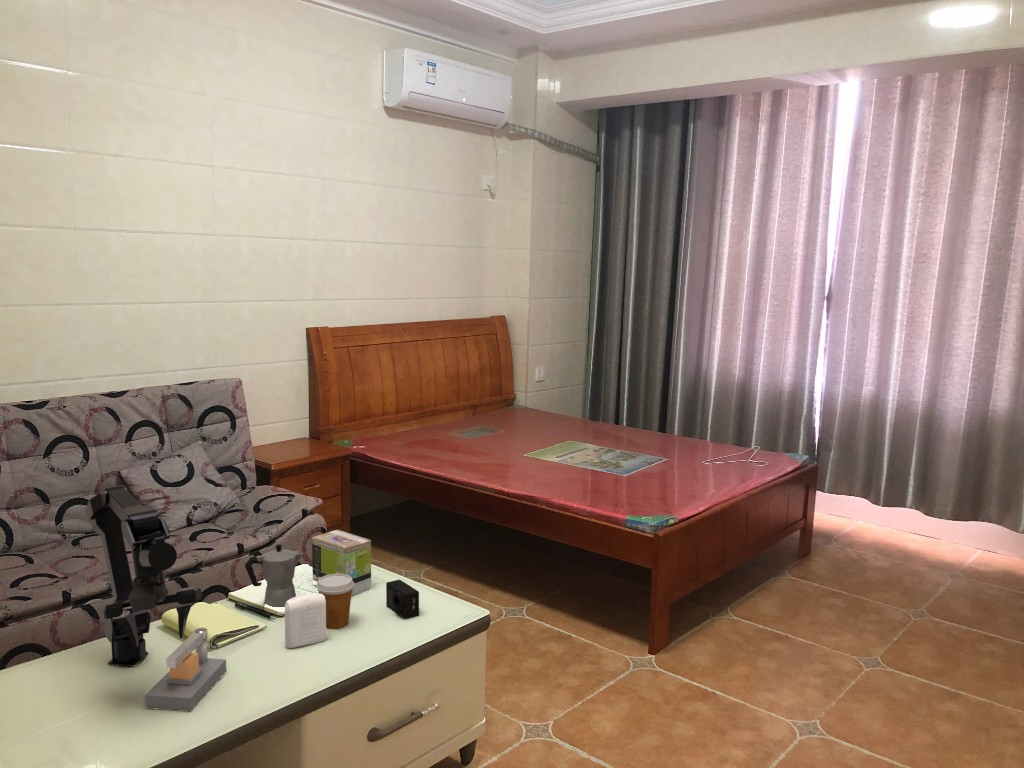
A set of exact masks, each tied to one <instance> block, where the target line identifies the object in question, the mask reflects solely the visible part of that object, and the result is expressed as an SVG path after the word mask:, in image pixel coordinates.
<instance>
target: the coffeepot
mask: <svg viewBox="0 0 1024 768" xmlns="http://www.w3.org/2000/svg"><path fill="white" fill-rule="evenodd" d="M282 546H283V545H282V544H275V549H274V550H271V551H270V550H269V551H267V552H263V554H262V555H256V556H251V557H249V558H248V560H247V561H246V562H245V564H244V568H245V570H246V572H247V574H248V577H249V579H250V581H251V584H252V585H253V587H260V586H262V582H258V581H257V576H256V574H255V572H254V571H255V570H254V568H253V566H252V565H254V564H257V565H259V564H261V565H262V569H263V570H262V571H263V575H264V580H265V582H266V587H265V592H264V593H265V594H264V599H263V601H264V602H263V604H264V603H265V604H267V605H269V606H272V607H285V602H286V601H288V600H290V599H291V598H294V597H296V596H297V594H296V590H295V584H294V581H293V580H294V578H295V570H296V567H297V565H298V563H299V561H300V560H301V559H302V557H303V556H304V554H305V553H304V552H302V551H299V550H297V551H296V550H291V549H282Z"/></svg>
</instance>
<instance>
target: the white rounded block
mask: <svg viewBox="0 0 1024 768" xmlns="http://www.w3.org/2000/svg"><path fill="white" fill-rule="evenodd" d="M326 639H327V628H326V600H325V596H324V595H323V594H320V593H319V592H310V593H304V594H299V595H296V597H294V598H291V599H290V600H288V601H286V602H285V615H284V642H285V643H284V646H285V647H286V648H288V649H294V648H299V647H303V646H307V645H311V644H316V643H320V642H323V641H326Z"/></svg>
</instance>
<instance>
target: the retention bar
mask: <svg viewBox="0 0 1024 768" xmlns="http://www.w3.org/2000/svg"><path fill="white" fill-rule="evenodd" d="M206 639H207V640H208V629H207V628H206V627H198V628H195V629H194V630H193V632H192V634H190V636H188V637H187V638H185V640H184V641H183V642H182V643H181V644H180V645H179V646H178V647H177V648H175V650H174V651H173V652H171V654H169V655H168V656H167V657H166V668H169V669H170V668H176V667H177V666H178V665H179V664H180V663H181V662H182V661H183V660H184V659H185V658H186V657H187V656H188V655H190V654H191V653H194V651H196V648H197V647H198V646H199V645H200V644H201V643H202V642H203V641H205V640H206Z"/></svg>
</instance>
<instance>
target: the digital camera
mask: <svg viewBox="0 0 1024 768" xmlns="http://www.w3.org/2000/svg"><path fill="white" fill-rule="evenodd" d="M385 586H386V588H385V590H386V592H385V594H386V597H385V598H386V601H385V603H386V605H385V606H386V607H387V608H388V609H389V610H390V611H392V612H394V613H395V614H397V615H398V616H399V617H400V618H402V619H404V620H406V621H407V620H408V619H412V618H416V617H419V616H420V591H418V590H417V589H415V588H414V587H413V586H412V585H410V584H408V583H406V582H405V581H403V580H402V579H400V578H399V579H395V580H391V581H386V585H385Z"/></svg>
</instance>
